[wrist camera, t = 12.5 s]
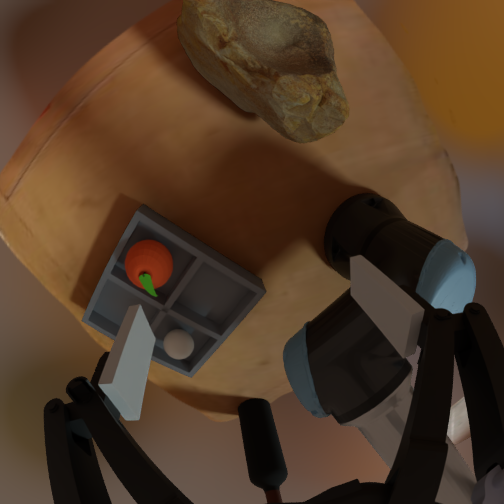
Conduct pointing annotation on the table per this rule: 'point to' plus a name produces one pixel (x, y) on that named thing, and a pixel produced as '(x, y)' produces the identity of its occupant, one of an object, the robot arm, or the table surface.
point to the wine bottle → (262, 448)
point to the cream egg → (178, 344)
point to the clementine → (149, 265)
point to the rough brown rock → (268, 62)
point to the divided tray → (176, 292)
